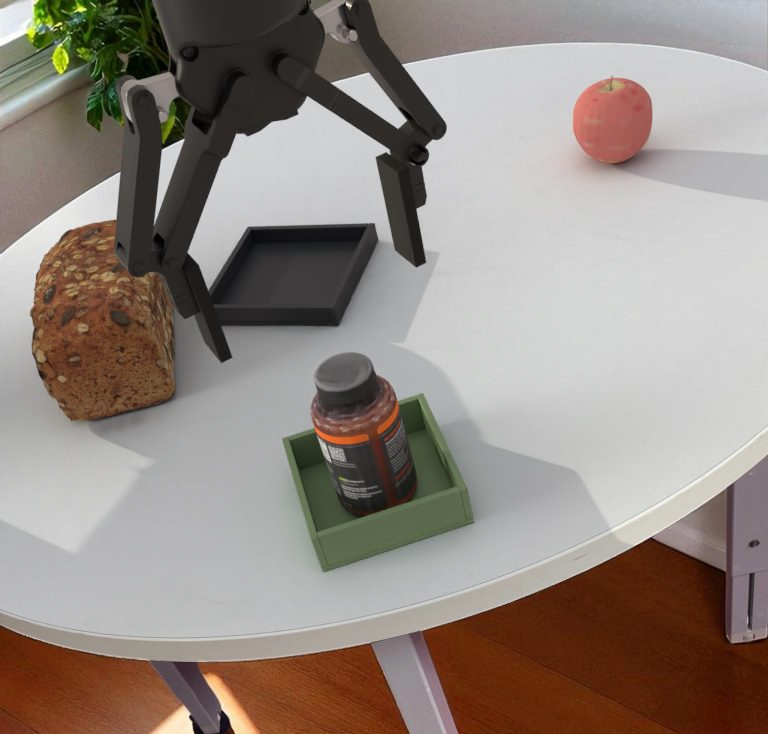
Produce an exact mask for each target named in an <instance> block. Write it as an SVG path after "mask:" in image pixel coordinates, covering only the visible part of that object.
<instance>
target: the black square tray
mask: <svg viewBox="0 0 768 734" xmlns="http://www.w3.org/2000/svg"><path fill="white" fill-rule="evenodd" d="M378 236H379V235H378V232H377V228H376V223H375V222H369V223H368V222H366V223H365V222H363V223H332V224H331V223H329V224H327V223H326V224H294V225H293V224H292V225H258V226H257V225H255V226H254V225H253V226H247V227H246V228H245V230H244V232H243V234H242V235H241V237H239V240H238V241H237V243H236V245H235V246H234V248H233V250H232V251H231V253H230V255H229V256H228V258H227V260H226V261H225V262H224V264H223V266H222V267H221V269H220V270H219V272H218V274H217V276H216V277H215V279H214V280H213V282H212V284H211V286H210V287H209V288H208V291H209V294H210V297H211V300H212V302H213V305H214V308H215V311H216V313H217V316H218V319H219V321H220V324H221V326H308V327H309V326H310V327H311V326H313V327H314V326H318V327H320V326H329V327H330V326H332V327H333V326H335V327H336V326H337V327H338V326H339V325H340V323H341V321H342V319H343V317H344V314H345V313H346V310H347V308H348V306H349V304H350V302H351V300H352V298H353V295H354V294H355V292H356V289H357V287H358V285H359V283H360V281H361V278H362V276H363V274H364V272H365V270H366V268H367V265H368V263H369V262H370V260H371V257H372V255H373V254H374V251H375V248H376V247H377V245H378V242H379V237H378Z"/></svg>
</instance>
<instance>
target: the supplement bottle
mask: <svg viewBox="0 0 768 734" xmlns="http://www.w3.org/2000/svg"><path fill="white" fill-rule="evenodd" d="M313 382H314V385H315V388H316V394H315V395H314V397H313V399H312V400H311V404H310V417H311V421H312V425H313V427H314V428H315V431H316V434H317V437H318V440H319V443H320V446H321V448H322V451H323V455H324V458H325V460H326V463H327V466H328V469H329V472H330V475H331V478H332V481H333V485H334V487H335V490H336V493H337V495H338V498H339V501H340V503H341V504H342V506H343V507H344V508H345V509H346V510H347V511H349V512H350V513H352V514H354V515H357V516H360V517H365V516H368V515H371V514H374V513H377V512H380V511H383V510H386V509H389V508H392V507H395V506H399V505H402V504H405V503H408V502H409V501H410V499H411V498H412V497H413V495H414V493H415V491H416V488H417V475H416V469H415V465H414V461H413V458H412V454H411V450H410V447H409V443H408V438H407V435H406V431H405V427H404V423H403V419H402V416H401V411H400V408H399V404H398V401H399V400H398V398H397V394H396V391H395V389H394V388H393V386H392V385H391V383H390V382H389V381H388V380H387V379H385V378H384V377H383V376H380V375H378V374H377V373H376V371H375V368H374V364H373V362H372V360H371V359H370V358H369V357H368V356H367V355H366V354H363V353H360V352H356V351H355V352H354V351H347V352H341V353H337V354H334V355H332V356H330V357H328V358H326V359H324V361H322V362H321V363H320V364H318V366H317V368H316V369H315V372H314V374H313Z"/></svg>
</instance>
